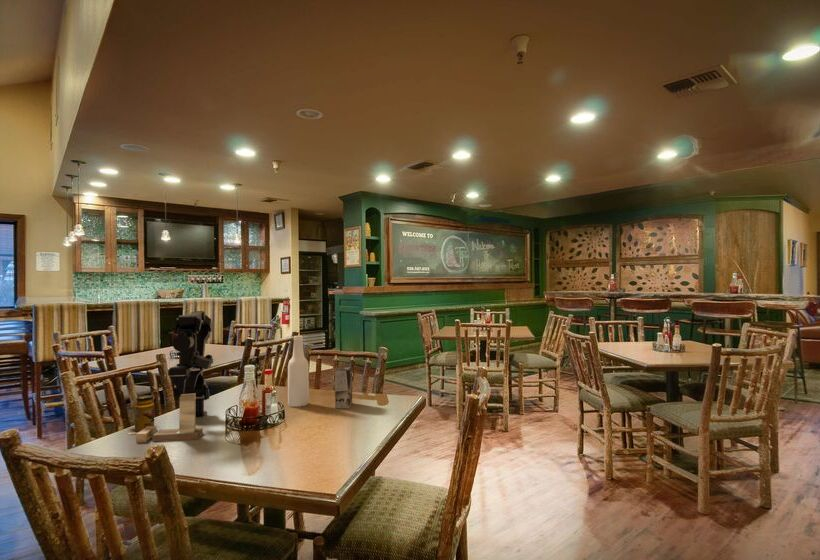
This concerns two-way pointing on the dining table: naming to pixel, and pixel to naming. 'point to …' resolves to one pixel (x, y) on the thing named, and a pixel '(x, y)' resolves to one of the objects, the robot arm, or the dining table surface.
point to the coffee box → (343, 387)
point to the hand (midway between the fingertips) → (187, 392)
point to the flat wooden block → (176, 434)
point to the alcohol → (298, 376)
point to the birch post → (187, 413)
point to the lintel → (145, 434)
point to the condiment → (143, 413)
